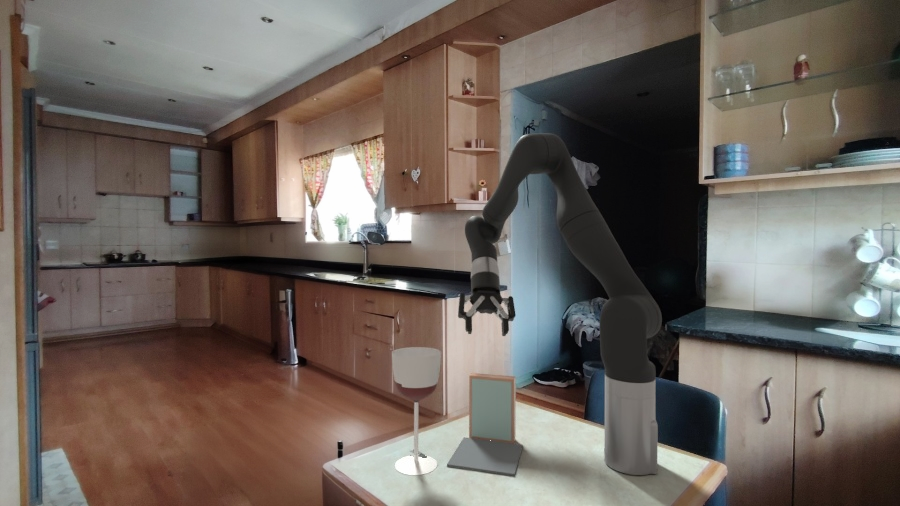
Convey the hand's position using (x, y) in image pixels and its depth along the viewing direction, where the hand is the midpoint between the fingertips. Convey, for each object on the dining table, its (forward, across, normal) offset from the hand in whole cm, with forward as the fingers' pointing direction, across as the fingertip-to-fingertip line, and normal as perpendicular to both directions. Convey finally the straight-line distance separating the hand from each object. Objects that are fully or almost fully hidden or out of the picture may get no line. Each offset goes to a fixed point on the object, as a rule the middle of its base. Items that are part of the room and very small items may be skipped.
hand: (487, 333), depth 108 cm
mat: (+28, -2, -2) cm, 28 cm away
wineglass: (+31, -16, -3) cm, 35 cm away
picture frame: (+23, +1, +5) cm, 24 cm away
